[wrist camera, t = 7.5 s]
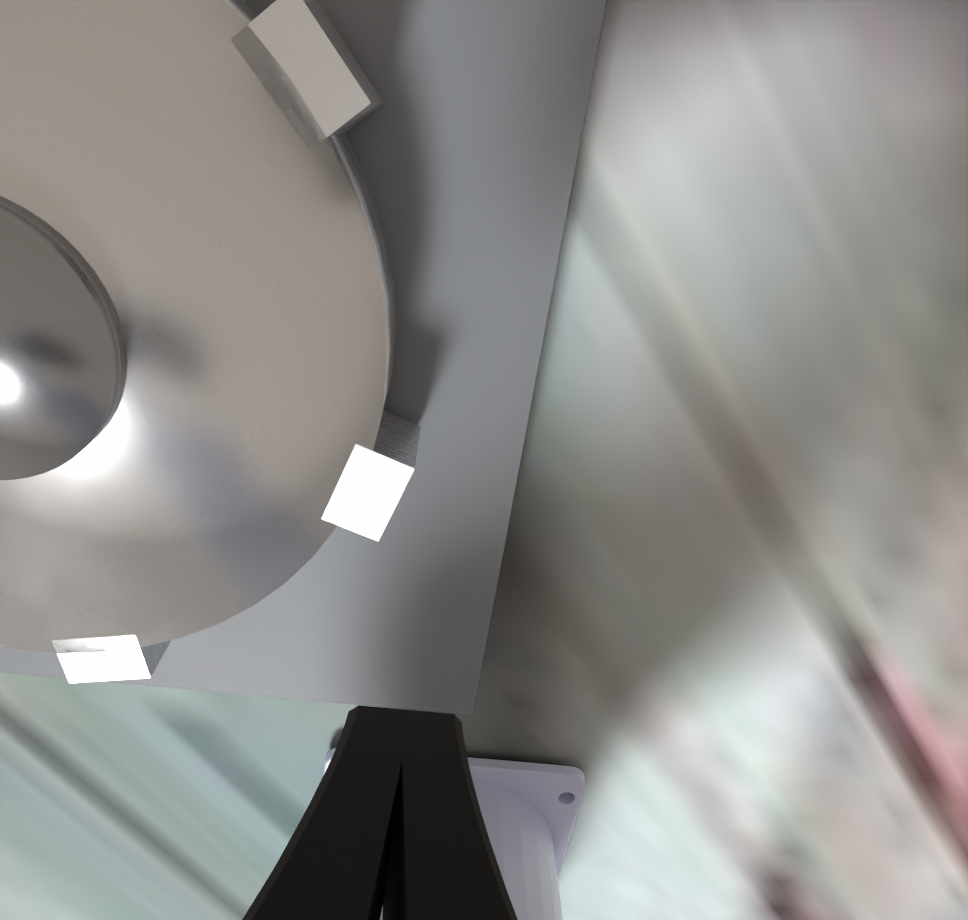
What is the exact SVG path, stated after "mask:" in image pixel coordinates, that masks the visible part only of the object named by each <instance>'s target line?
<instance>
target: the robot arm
mask: <svg viewBox="0 0 968 920" xmlns="http://www.w3.org/2000/svg"><path fill="white" fill-rule="evenodd" d="M584 790H585V777H584V774H583V772H582V770H580V769H578V768H577V767H572V766H563V765H552V764H540V763H529V762H517V761H505V760H494V759H482V758H471V757H467V754H466V749H465V743H464V738H463V731H462V722H461V721H460V720H459V719H458V718H457V717H456V716H455V715H454V714H446V713H435V712H424V711H413V710H402V709H391V708H380V707H369V706H357V707H355V708H354V709H352V710H351V711H349V713H348V716H347V719H346V723H345V726H344V729H343V732H342V734H341V737H340V739H339V742H338V744H337V747H336V748H333V749H331V750H330V751H329V752H328V753H327V756H326V759H325V764H324V776H323V778H322V780H321V782H320V784H319V786H318V788H317V790H316V792H315V794H314V796H313V798H312V800H311V802H310V804H309V806H308V808H307V810H306V812H305V813H304V815H303V817H302V819H301V821H300V823H299V824H298V826H297V828H296V830H295V832H294V834H293V835H292V837H291V839H290V841H289V843H288V844H287V846H286V848H285V850H284V852H283V854H282V855H281V857H280V859H279V861H278V862H277V864H276V866H275V868H274V869H273V871H272V873H271V874H270V876H269V878H268V879H267V881H266V882H265V884H264V886H263V887H262V889H261V891H260V892H259V894H258V895H257V897H256V899H255V900H254V902H253V903H252V905H251V907H250V908H249V910H248V911H247V913H246V915H245V916H244V918H243V919H242V920H563V919H562V911H561V902H560V894H559V885H558V878H559V875H560V871H561V868H562V865H563V861H564V858H565V854H566V851H567V848H568V844H569V841H570V838H571V834H572V831H573V827H574V824H575V821H576V817H577V814H578V811H579V807H580V804H581V800H582V797H583V794H584ZM566 792H568V793H566Z"/></svg>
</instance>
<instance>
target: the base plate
mask: <svg viewBox="0 0 968 920" xmlns="http://www.w3.org/2000/svg"><path fill="white" fill-rule="evenodd" d="M245 1H246V2H247V3H248V4H249V5H250V6H251V7H252V8H253V9H254V10H255V11H256V12H257V13H258V14H259V15H260V14H261V13H262V12H263V11H264V10H265V9H267V8H268V7H269V6H270V5H271V4H272V3H274V2H275V1H276V0H245ZM315 1H317V2H318V3H319V4H320V5H321V7H322V8H323V10H324V11H325V13H326V14H327V16H328V17H329V19H330V20H331V22H332V24H333V25H334V27H335V28H336V30H337V31H338V33H339V34H340V36H341V37H342V39H343V40H344V42H345V43H346V45H347V46H348V48H349V50H350V51H351V53H352V54H353V56H354V57H355V59H356V60H357V62H358V63H359V65H360V66H361V68H362V69H363V71H364V72H365V74H366V75H367V77H368V79H369V80H370V82H371V83H372V85H373V86H374V88H375V89H376V91H377V92H378V94H379V95H380V97H381V98H382V100H383V101H384V103H383V104H382V105H381V106H380V107H378V108H377V109H376V110H374V111H373V112H372V113H370V114H369V115H368V116H367V117H365V118H364V119H363V120H361V121H360V122H359V123H358V124H356V125H355V126H354V127H352V128H351V129H350V130H348V131H347V132H346V133H347V136H348V138H349V140H350V142H351V144H352V147H353V149H354V151H355V153H356V155H357V158H358V160H359V162H360V164H361V166H362V169H363V171H364V173H365V175H366V177H367V180H368V182H369V184H370V187H371V190H372V194H373V197H374V200H375V203H376V206H377V209H378V213H379V216H380V219H381V222H382V225H383V228H384V231H385V236H386V241H387V247H388V252H389V257H390V263H391V268H392V274H393V279H394V292H395V311H396V337H395V350H394V362H393V372H392V376H391V380H390V385H389V389H388V394H387V398H386V403H385V407H384V411H386V412H389V413H391V414H393V415H396V416H398V417H400V418H402V419H405V420H407V421H409V422H412V423H414V424H416V425H419V426H421V429H420V436H419V443H418V450H417V457H416V464H415V470H414V472H413V473H412V475H411V477H410V479H409V481H408V483H407V485H406V487H405V489H404V491H403V493H402V495H401V497H400V499H399V501H398V503H397V505H396V507H395V509H394V511H393V513H392V515H391V517H390V519H389V521H388V523H387V525H386V527H385V529H384V531H383V533H382V535H381V537H380V539H379V541H376V540H374V539H371V538H369V537H366V536H363V535H361V534H358V533H356V532H353V531H351V530H348V529H346V528H343V527H341V526H337V527H336V528H335V530H334V531H333V532H332V533H331V535H330V536H329V537H328V539H327V540H326V541H325V542H324V544H323V545H322V546H321V547H320V549H319V550H318V551H317V553H316V554H315V555H314V556H313V557H312V558H311V559H310V560H309V561H308V562H307V563H306V564H305V565H304V566H303V567H302V568H301V569H300V570H299V571H298V572H297V573H295V574H294V575H293V576H292V577H291V578H290V579H289V580H288V581H287V582H286V583H285V584H284V585H282V586H281V587H279V588H278V589H277V590H275V591H274V592H272V593H271V594H269V595H268V596H267V597H265V598H264V599H262V600H261V601H259V602H258V603H257V604H255V605H254V606H252V607H250V608H248V609H247V610H245V611H243V612H241V613H239V614H237V615H235V616H233V617H231V618H229V619H227V620H225V621H223V622H221V623H219V624H217V625H215V626H212V627H209V628H207V629H204V630H201V631H198V632H196V633H193V634H190V635H187V636H185V637H182V638H178V639H174V640H171V642H170V644H169V646H168V647H167V649H166V651H165V653H164V655H163V656H162V658H161V660H160V662H159V664H158V666H157V667H156V669H155V671H154V673H153V675H152V677H151V678H144V679H128V680H113V681H103V682H113V683H124V684H135V685H146V686H157V687H168V688H179V689H190V690H201V691H212V692H223V693H234V694H245V695H256V696H267V697H278V698H289V699H300V700H311V701H322V702H333V703H344V704H355V705H366V706H377V707H387V708H398V709H409V710H420V711H431V712H442V713H453V714H464V715H473V712H474V707H475V702H476V696H477V691H478V686H479V680H480V675H481V670H482V664H483V659H484V653H485V648H486V643H487V637H488V632H489V627H490V621H491V616H492V611H493V605H494V600H495V595H496V589H497V584H498V579H499V573H500V568H501V563H502V557H503V552H504V547H505V541H506V536H507V531H508V525H509V520H510V514H511V509H512V504H513V498H514V493H515V488H516V482H517V477H518V472H519V466H520V461H521V456H522V450H523V445H524V440H525V434H526V429H527V424H528V418H529V413H530V408H531V402H532V397H533V391H534V386H535V381H536V375H537V370H538V365H539V359H540V354H541V349H542V343H543V338H544V333H545V327H546V322H547V317H548V311H549V306H550V301H551V295H552V290H553V285H554V279H555V274H556V269H557V263H558V258H559V252H560V247H561V242H562V236H563V231H564V226H565V220H566V215H567V210H568V204H569V199H570V194H571V188H572V183H573V178H574V172H575V167H576V162H577V156H578V151H579V146H580V140H581V135H582V130H583V124H584V119H585V113H586V108H587V103H588V97H589V92H590V87H591V81H592V76H593V71H594V65H595V60H596V55H597V49H598V44H599V39H600V33H601V28H602V23H603V17H604V12H605V7H606V1H607V0H315ZM0 672H4V673H15V674H26V675H37V676H48V677H59V678H67V677H66V675H65V672H64V670H63V667H62V665H61V663H60V660H59V658H58V656H57V653H50V652H39V651H27V650H15V649H7V648H2V647H0Z"/></svg>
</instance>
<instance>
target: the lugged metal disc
mask: <svg viewBox="0 0 968 920" xmlns="http://www.w3.org/2000/svg"><path fill="white" fill-rule="evenodd" d="M383 103H384V101H383V100H382V98H381V97H380V95H379V94H378V92H377V91H376V89H375V88H374V86H373V85H372V83H371V82H370V80H369V79H368V77H367V75H366V74H365V72H364V71H363V69H362V68H361V66H360V65H359V63H358V62H357V60H356V59H355V57H354V56H353V54H352V53H351V51H350V50H349V48H348V46H347V45H346V43H345V42H344V40H343V39H342V37H341V36H340V34H339V33H338V31H337V30H336V28H335V27H334V25H333V24H332V22H331V20H330V19H329V17H328V16H327V14H326V13H325V11H324V10H323V8H322V7H321V5H320V4H319V3H318V2H317V1H315V0H276V1H275V2H274V3H272V4H271V5H270V6H269V7H268V8H267V9H265V10H264V11H263V12H262V13H261V14H260V15H259V14H258V13H257V12H256V11H255V10H254V9H253V8H252V7H251V6H250V5H249V4H248V3H247V2H246V1H245V0H0V647H2V648H7V649H15V650H27V651H39V652H50V653H57V656H58V658H59V660H60V663H61V665H62V667H63V670H64V672H65V675H66V677H67V679H68V682H69V683H82V682H98V681H113V680H128V679H144V678H151V677H152V675H153V673H154V671H155V669H156V667H157V666H158V664H159V662H160V660H161V658H162V656H163V655H164V653H165V651H166V649H167V647H168V646H169V644H170V642H171V640H174V639H178V638H182V637H185V636H187V635H190V634H193V633H196V632H198V631H201V630H204V629H207V628H209V627H212V626H215V625H217V624H219V623H221V622H223V621H225V620H227V619H229V618H231V617H233V616H235V615H237V614H239V613H241V612H243V611H245V610H247V609H248V608H250V607H252V606H254V605H255V604H257V603H258V602H259V601H261V600H262V599H264V598H265V597H267V596H268V595H269V594H271V593H272V592H274V591H275V590H277V589H278V588H279V587H281V586H282V585H284V584H285V583H286V582H287V581H288V580H289V579H290V578H291V577H292V576H293V575H294V574H295V573H297V572H298V571H299V570H300V569H301V568H302V567H303V566H304V565H305V564H306V563H307V562H308V561H309V560H310V559H311V558H312V557H313V556H314V555H315V554H316V553H317V551H318V550H319V549H320V547H321V546H322V545H323V544H324V542H325V541H326V540H327V539H328V537H329V536H330V535H331V533H332V532H333V531H334V530H335V528H336V527H337V526H341V527H343V528H346V529H348V530H351V531H353V532H356V533H358V534H361V535H363V536H366V537H369V538H371V539H374V540H376V541H379V539H380V537H381V535H382V533H383V531H384V529H385V527H386V525H387V523H388V521H389V519H390V517H391V515H392V513H393V511H394V509H395V507H396V505H397V503H398V501H399V499H400V497H401V495H402V493H403V491H404V489H405V487H406V485H407V483H408V481H409V479H410V477H411V475H412V473H413V472H414V470H415V464H416V457H417V450H418V443H419V436H420V429H421V426H419V425H416V424H414V423H412V422H409V421H407V420H405V419H402V418H400V417H398V416H396V415H393V414H391V413H389V412H386V411H384V407H385V403H386V398H387V394H388V389H389V385H390V380H391V376H392V372H393V362H394V350H395V337H396V311H395V292H394V279H393V274H392V268H391V263H390V257H389V252H388V247H387V241H386V236H385V231H384V228H383V225H382V222H381V219H380V216H379V213H378V209H377V206H376V203H375V200H374V197H373V194H372V190H371V187H370V184H369V182H368V180H367V177H366V175H365V173H364V171H363V169H362V166H361V164H360V162H359V160H358V158H357V155H356V153H355V151H354V149H353V147H352V144H351V142H350V140H349V138H348V136H347V133H346V132H347V131H348V130H350V129H351V128H352V127H354V126H355V125H356V124H358V123H359V122H360V121H361V120H363V119H364V118H365V117H367V116H368V115H369V114H370V113H372V112H373V111H374V110H376V109H377V108H378V107H380V106H381V105H382V104H383Z"/></svg>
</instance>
